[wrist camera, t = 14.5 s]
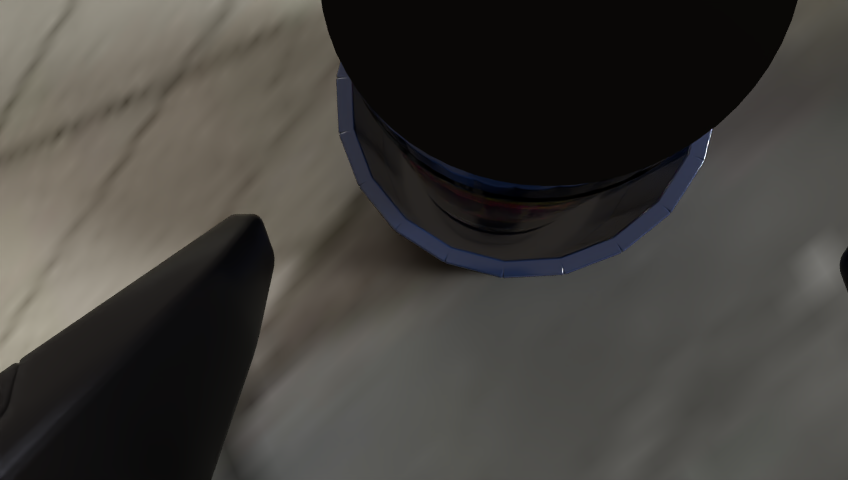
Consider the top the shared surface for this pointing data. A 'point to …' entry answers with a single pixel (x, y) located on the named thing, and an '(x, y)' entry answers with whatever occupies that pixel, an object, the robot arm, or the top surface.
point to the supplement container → (548, 91)
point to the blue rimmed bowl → (507, 251)
